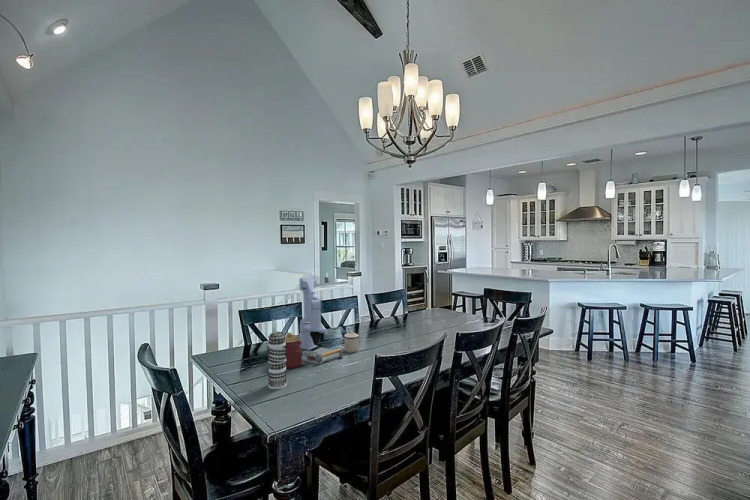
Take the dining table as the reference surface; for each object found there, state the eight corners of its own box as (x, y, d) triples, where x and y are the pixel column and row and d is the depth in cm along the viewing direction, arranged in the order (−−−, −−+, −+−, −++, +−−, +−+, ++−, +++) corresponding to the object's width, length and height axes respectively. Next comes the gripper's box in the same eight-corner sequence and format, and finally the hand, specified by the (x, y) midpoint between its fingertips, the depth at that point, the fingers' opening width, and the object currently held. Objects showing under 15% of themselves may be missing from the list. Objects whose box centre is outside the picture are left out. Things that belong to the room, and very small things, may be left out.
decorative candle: (279, 380, 186) (278, 329, 185) (291, 384, 180) (290, 332, 179) (263, 385, 179) (262, 333, 178) (275, 391, 173) (274, 336, 172)
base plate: (297, 359, 215) (296, 351, 215) (321, 349, 234) (320, 341, 234) (327, 366, 205) (327, 357, 205) (349, 354, 224) (349, 346, 224)
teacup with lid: (359, 348, 236) (359, 329, 236) (357, 352, 227) (357, 333, 227) (340, 347, 238) (340, 329, 237) (337, 352, 229) (337, 332, 228)
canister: (296, 369, 200) (295, 336, 199) (273, 368, 202) (272, 335, 201) (305, 361, 212) (305, 330, 211) (284, 360, 215) (283, 329, 214)
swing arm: (318, 362, 206) (318, 356, 206) (315, 361, 209) (315, 354, 208) (346, 354, 221) (346, 347, 220) (342, 352, 223) (342, 346, 223)
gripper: (300, 321, 214) (301, 345, 214) (322, 323, 207) (322, 348, 208) (308, 318, 220) (308, 341, 221) (329, 320, 214) (329, 344, 214)
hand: (315, 344), depth 215 cm, fingers closed
